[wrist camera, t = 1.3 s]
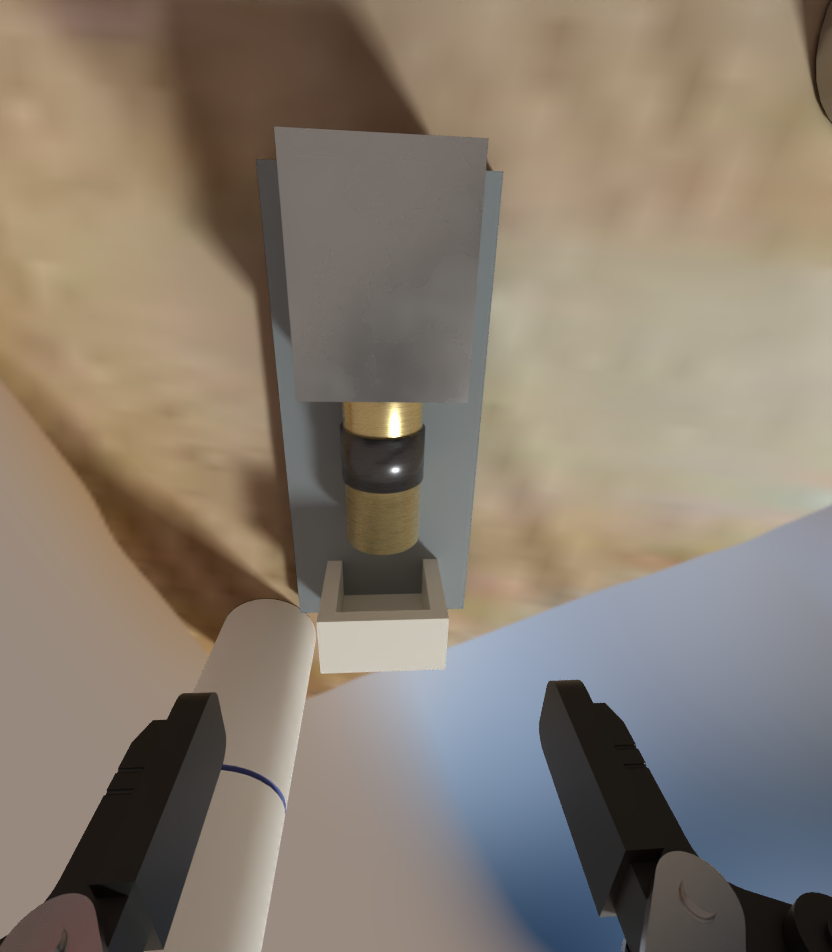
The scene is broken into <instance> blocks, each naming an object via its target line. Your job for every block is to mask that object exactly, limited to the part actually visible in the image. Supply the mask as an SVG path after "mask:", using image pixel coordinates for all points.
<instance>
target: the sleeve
mask: <svg viewBox="0 0 832 952" xmlns="http://www.w3.org/2000/svg"><path fill="white" fill-rule="evenodd" d="M274 133H275V145H276V157H277V170H278V182H279V194H280V206H281V218H282V231H283V243H284V255H285V267H286V279H287V292H288V304H289V316H290V328H291V340H292V353H293V365H294V377H295V389H296V401H297V402H404V403H468V394H469V381H470V369H471V356H472V343H473V330H474V317H475V305H476V292H477V279H478V266H479V253H480V240H481V228H482V215H483V202H484V189H485V176H486V164H487V151H488V138H472V137H454V136H436V135H418V134H400V133H383V132H365V131H347V130H329V129H311V128H293V127H275V126H274Z"/></svg>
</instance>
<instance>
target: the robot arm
mask: <svg viewBox="0 0 832 952" xmlns="http://www.w3.org/2000/svg"><path fill="white" fill-rule="evenodd" d="M816 82H817V87H818V91H819V96H820V101H821V104H822V106H823V108H824V110H825V112H826V114H827V116H828V118H829V119H830V120H831V122H832V0H831V2H830V4H829V7H828V10H827V13H826V16H825V19H824V23H823V26H822V29H821V32H820V38H819V44H818V51H817V57H816ZM539 734H540V741H541V745H542V749H543V752H544V755H545V758H546V761H547V764H548V767H549V770H550V773H551V775H552V779H553V782H554V785H555V788H556V791H557V793H558V797H559V799H560V802H561V805H562V808H563V811H564V814H565V817H566V820H567V823H568V826H569V829H570V832H571V835H572V838H573V841H574V843H575V847H576V850H577V852H578V855H579V858H580V861H581V864H582V867H583V870H584V873H585V876H586V878H587V882H588V885H589V888H590V891H591V894H592V896H593V900H594V903H595V906H596V909H597V911H598V914H599V917H609V916H617V917H618V920H619V922H620V925H621V928H622V930H623V933H624V940H623V944H622V950H621V952H832V897H830V896H828V895H824V894H821V893H814V892H810V893H805V894H803V895H801V896H800V897H799V898H798V899H797V900H796V901H795V903H794V904H793V905H791V904H788V903H785V902H782V901H779V900H776V899H772V898H769V897H766V896H763V895H760V894H757V893H753V892H750V891H747V890H744V889H742V888H739V887H737V886H735V885H733V884H731V883H729V882H727V881H726V880H725V878H724V877H723V876H722V875H721V874H720V873H719V872H718V871H717V870H716V869H715V868H714V867H712V866H711V865H710V864H709V863H707V862H706V861H704V860H703V859H701V858H700V857H699V856H698V855H697V854H696V852H695V851H694V850H693V849H692V847H691V845H690V844H689V842H688V840H687V839H686V837H685V835H684V833H683V831H682V829H681V827H680V826H679V824H678V822H677V820H676V818H675V816H674V814H673V813H672V811H671V809H670V807H669V805H668V803H667V801H666V800H665V798H664V796H663V794H662V792H661V790H660V789H659V787H658V785H657V783H656V781H655V779H654V777H653V776H652V774H651V772H650V770H649V768H647V767H646V763H645V761H644V759H643V757H642V755H641V753H640V751H639V750H638V749H637V748H636V744H635V742H634V741H633V738H632V737H631V735H630V733H629V731H628V729H627V727H626V726H625V724H624V722H623V721H622V720H621V719H620V718H619V717H618V716H617V715H616V714H615V713H614V712H613V711H612V710H611V709H610V708H609V707H608V706H607V705H606V703H593V702H592V700H591V698H590V696H589V694H588V692H587V690H586V687H585V686H584V684H583V683H582V682H581V681H580V680H562V681H549V682H548V684H547V688H546V693H545V698H544V702H543V707H542V712H541V717H540V722H539ZM225 751H226V732H225V727H224V722H223V718H222V713H221V708H220V703H219V699H218V695H217V693H215V692H208V693H183V694H181V695H180V696H179V697H178V699H177V700H176V702H175V704H174V706H173V708H172V710H171V712H170V714H169V717H168V719H167V720H153V721H152V722H151V723H150V724H149V725H148V726H147V727H146V728H145V729H144V730H143V731H142V732H141V733H140V735H139V736H138V737H137V738H136V739H135V740H134V741H133V742H132V743H131V745H130V747H129V749H128V751H127V753H126V754H125V756H124V758H123V760H122V762H121V764H120V766H119V768H118V772H117V773H116V774H115V775H114V777H113V779H112V781H111V783H110V785H109V787H108V789H107V793H106V795H105V796H103V798H102V800H101V802H100V804H99V806H98V808H97V810H96V811H95V813H94V815H93V817H92V819H91V821H90V823H89V825H88V827H87V829H86V831H85V833H84V834H83V836H82V838H81V840H80V842H79V844H78V846H77V847H76V849H75V851H74V853H73V855H72V857H71V859H70V861H69V863H68V865H67V866H66V868H65V870H64V872H63V874H62V876H61V878H60V880H59V881H58V883H57V885H56V887H55V888H54V890H53V891H52V893H51V894H50V895H49V897H48V898H47V899H46V901H45V902H44V903H43V904H41V905H39V906H38V907H37V908H35V909H34V910H33V911H31V912H30V913H29V914H28V915H27V916H25V917H24V918H23V919H22V920H21V921H20V922H19V923H18V924H17V925H16V926H15V927H14V929H12V931H11V932H10V933H9V934H8V935H7V936H5V937H4V938H2V939H0V952H144V951H155V950H164V947H165V944H166V940H167V937H168V934H169V931H170V928H171V925H172V922H173V919H174V915H175V912H176V909H177V906H178V903H179V900H180V897H181V893H182V890H183V887H184V884H185V881H186V878H187V875H188V872H189V868H190V865H191V862H192V859H193V856H194V853H195V850H196V846H197V843H198V840H199V837H200V834H201V831H202V828H203V825H204V821H205V818H206V815H207V812H208V809H209V806H210V803H211V800H212V796H213V793H214V790H215V787H216V784H217V781H218V778H219V774H220V771H221V768H222V765H223V761H224V757H225Z"/></svg>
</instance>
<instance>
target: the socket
mask: <svg viewBox="0 0 832 952" xmlns="http://www.w3.org/2000/svg"><path fill="white" fill-rule="evenodd" d="M448 624H449V616H448V611H447V606H446V601H445V596H444V591H443V586H442V581H441V576H440V571H439V566H438V561H437V559H423V569H422V593H418V594H377V595H344V586H343V564H342V561H328V562H327V567H326V573H325V579H324V584H323V590H322V595H321V601H320V606H319V612H318V617H317V633H318V646H319V659H320V671H321V674H324V673H351V672H378V671H403V670H431V669H445V664H446V651H447V638H448Z"/></svg>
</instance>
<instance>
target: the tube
mask: <svg viewBox="0 0 832 952" xmlns="http://www.w3.org/2000/svg"><path fill="white" fill-rule="evenodd" d="M423 404H424V403H404V402H342V422H343V423H342V424H341V425H340V441H341V464H342V479H343V481H344V483H345V497H346V522H347V539H348V542H349V543H350V544H351V545H352V546H353V547H354V548H355V549H357V550H359V551H362V552H364V553H368V554H374V555H390V554H396V553H400V552H403V551H405V550H407V549H409V548H411V547H412V546H413V545H415V543H416V542H417V540H418V537H419V513H420V485H421V482H422V480H423V475H424V449H425V425H424V424H423Z"/></svg>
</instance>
